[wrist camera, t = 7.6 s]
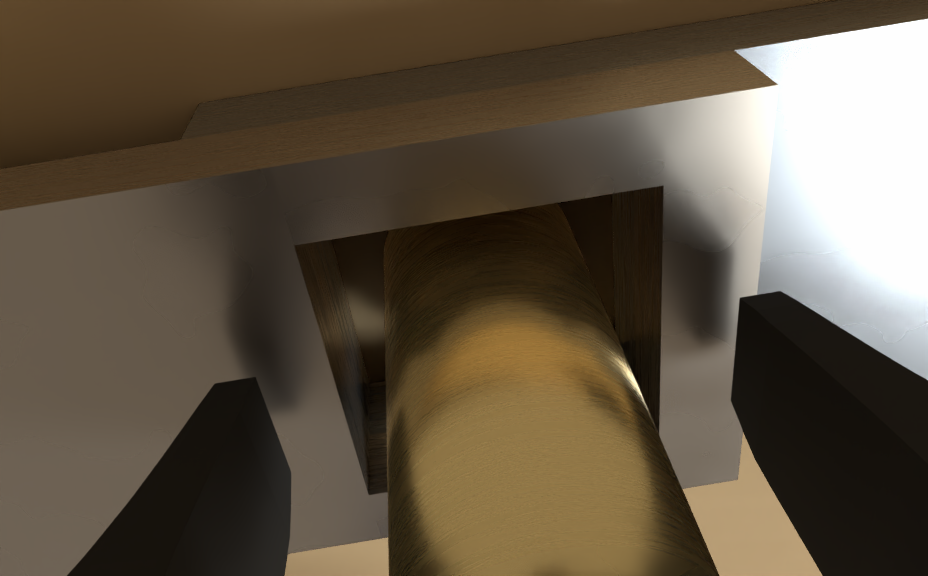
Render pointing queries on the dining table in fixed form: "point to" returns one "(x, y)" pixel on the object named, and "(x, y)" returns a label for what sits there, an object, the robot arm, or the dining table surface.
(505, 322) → the pin
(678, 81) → the gray slotted block
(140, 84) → the dining table surface
